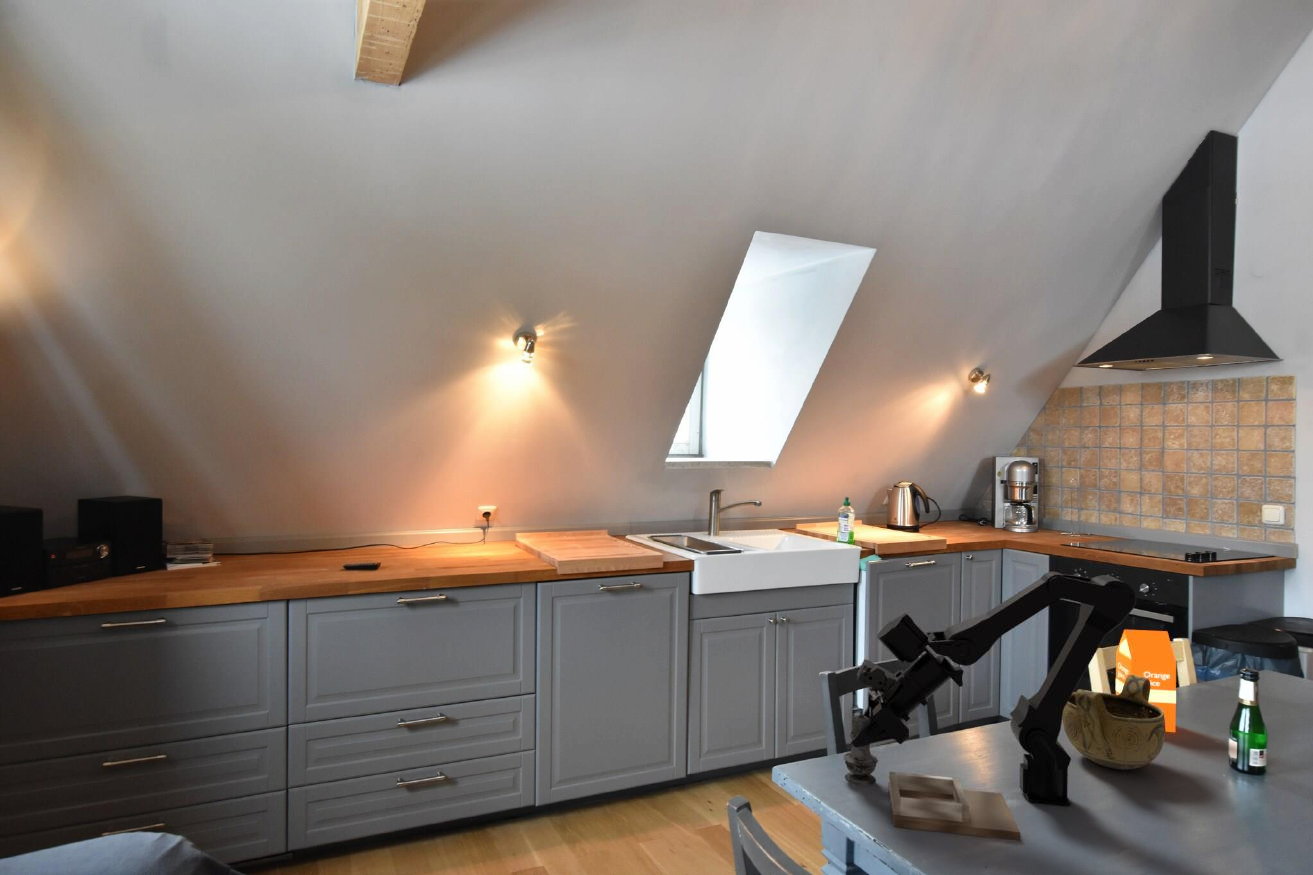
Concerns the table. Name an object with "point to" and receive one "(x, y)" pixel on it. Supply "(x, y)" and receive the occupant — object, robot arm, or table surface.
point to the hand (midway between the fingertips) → (852, 740)
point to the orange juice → (1150, 668)
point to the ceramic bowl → (1116, 725)
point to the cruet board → (948, 807)
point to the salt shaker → (860, 757)
